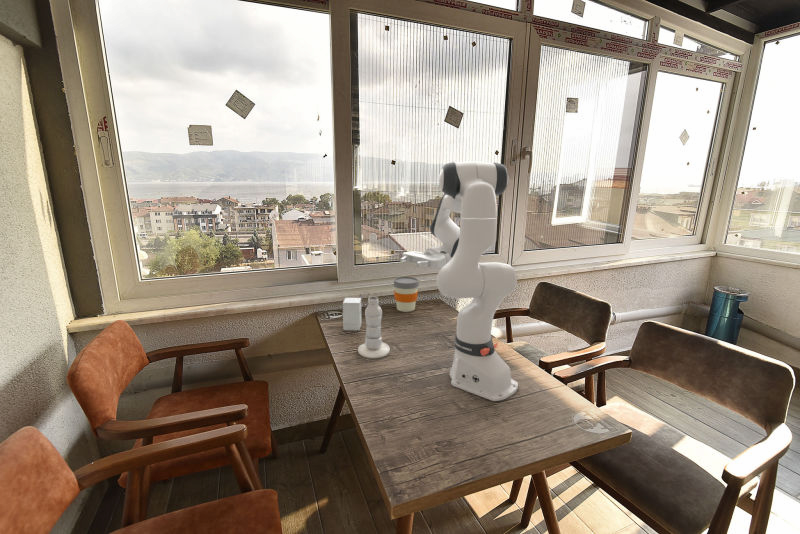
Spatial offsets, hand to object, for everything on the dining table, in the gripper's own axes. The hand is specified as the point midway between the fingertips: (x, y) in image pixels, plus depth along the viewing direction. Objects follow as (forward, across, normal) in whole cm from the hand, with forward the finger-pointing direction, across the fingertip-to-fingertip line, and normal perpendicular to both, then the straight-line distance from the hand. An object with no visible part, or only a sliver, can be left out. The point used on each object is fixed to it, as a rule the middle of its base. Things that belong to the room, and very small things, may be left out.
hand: (409, 262), depth 147 cm
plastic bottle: (+18, 0, +31) cm, 36 cm away
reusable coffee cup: (-23, -26, +32) cm, 47 cm away
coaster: (+18, 0, +32) cm, 37 cm away
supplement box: (+11, -24, +32) cm, 42 cm away
